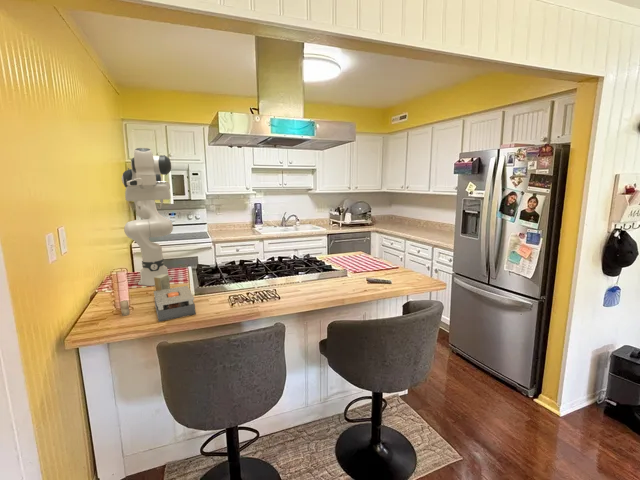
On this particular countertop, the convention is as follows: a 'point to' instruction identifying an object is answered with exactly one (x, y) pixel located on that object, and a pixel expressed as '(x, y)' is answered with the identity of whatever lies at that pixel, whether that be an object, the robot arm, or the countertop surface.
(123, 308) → the grey block
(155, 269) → the robot arm
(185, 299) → the breaker housing
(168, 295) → the breaker button
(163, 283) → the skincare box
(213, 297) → the countertop surface
